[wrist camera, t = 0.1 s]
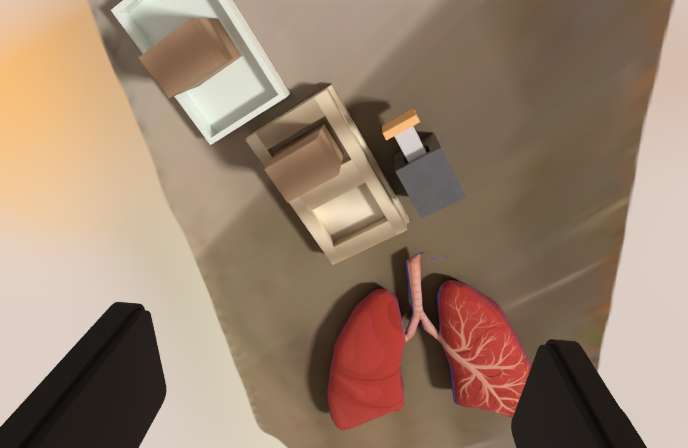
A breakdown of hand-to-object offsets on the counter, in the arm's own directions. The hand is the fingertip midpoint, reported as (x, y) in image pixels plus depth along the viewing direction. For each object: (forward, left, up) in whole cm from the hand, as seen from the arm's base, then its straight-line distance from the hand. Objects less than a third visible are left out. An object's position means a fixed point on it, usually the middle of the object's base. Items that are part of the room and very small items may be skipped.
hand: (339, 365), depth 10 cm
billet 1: (-12, -12, -37) cm, 40 cm away
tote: (-12, -12, -37) cm, 41 cm away
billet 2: (+2, -8, -36) cm, 37 cm away
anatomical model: (+33, -9, -38) cm, 51 cm away
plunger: (+5, +2, -35) cm, 35 cm away
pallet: (+6, -8, -37) cm, 39 cm away
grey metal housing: (+10, +2, -37) cm, 39 cm away
